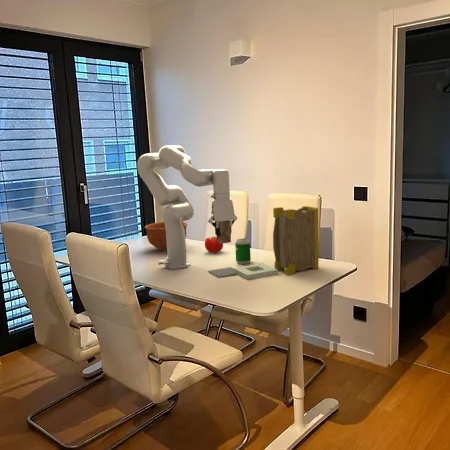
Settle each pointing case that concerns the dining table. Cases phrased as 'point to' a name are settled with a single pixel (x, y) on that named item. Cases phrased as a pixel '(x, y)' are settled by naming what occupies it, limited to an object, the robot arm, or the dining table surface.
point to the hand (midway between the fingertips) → (223, 234)
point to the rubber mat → (223, 272)
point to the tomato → (213, 245)
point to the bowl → (159, 234)
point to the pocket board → (248, 274)
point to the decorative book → (295, 239)
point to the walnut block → (224, 232)
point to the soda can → (242, 251)
